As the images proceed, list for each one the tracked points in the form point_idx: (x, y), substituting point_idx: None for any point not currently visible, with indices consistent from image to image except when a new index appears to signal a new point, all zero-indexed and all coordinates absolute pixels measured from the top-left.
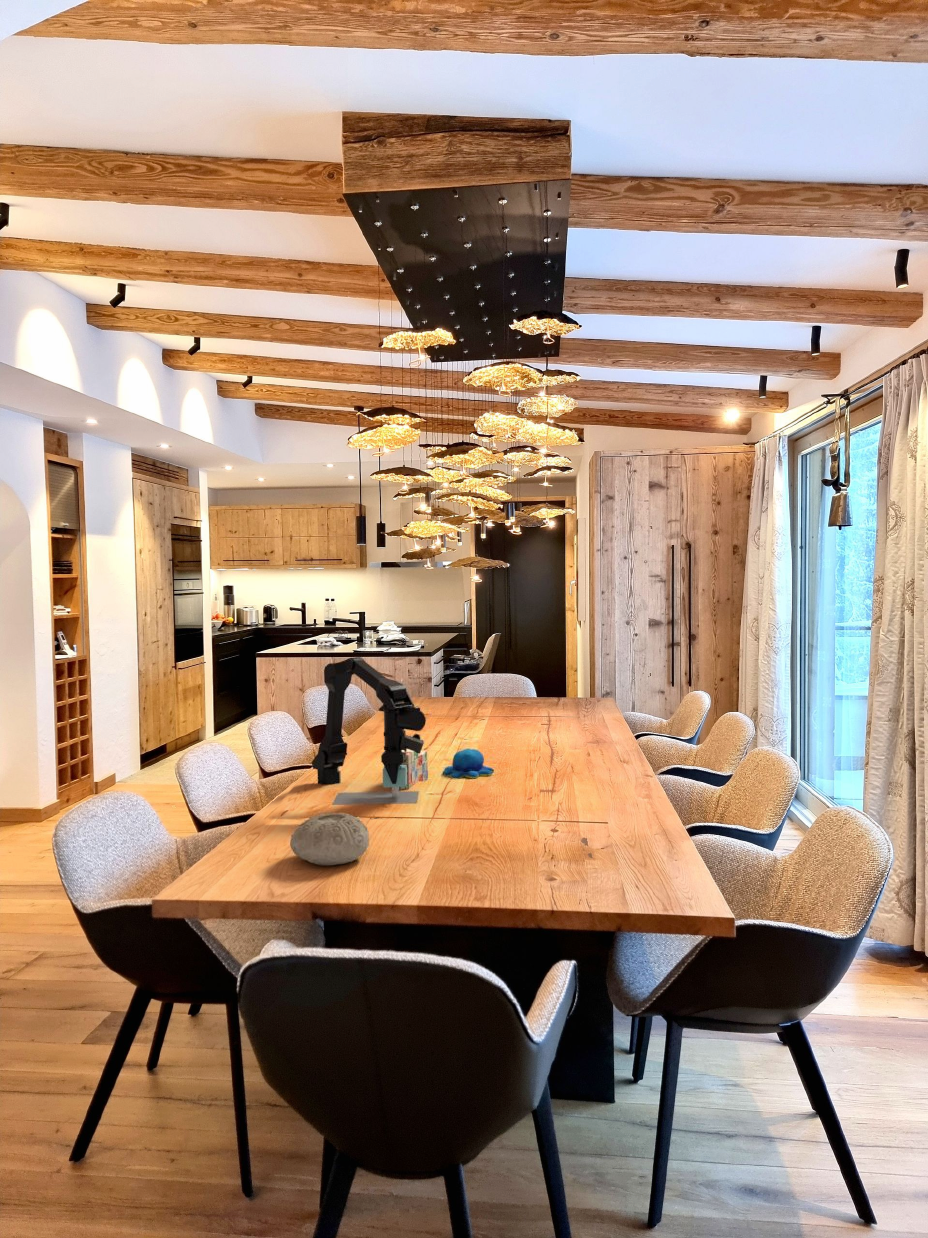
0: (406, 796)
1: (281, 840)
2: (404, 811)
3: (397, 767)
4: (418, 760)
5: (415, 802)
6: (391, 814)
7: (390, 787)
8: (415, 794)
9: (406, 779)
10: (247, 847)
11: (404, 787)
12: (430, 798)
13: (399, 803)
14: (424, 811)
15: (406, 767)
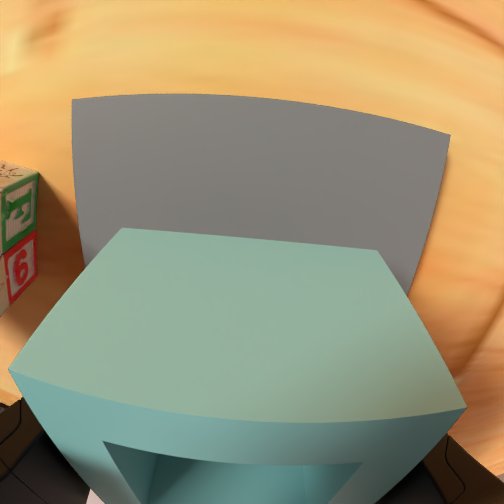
0: (230, 193)
1: (498, 451)
2: (464, 214)
3: (493, 494)
4: None
5: (434, 142)
6: (481, 279)
7: (19, 290)
8: (171, 118)
9: (188, 256)
10: (494, 467)
11: (12, 213)
12: (159, 12)
13: (421, 252)
14: (493, 102)
15: (69, 357)
